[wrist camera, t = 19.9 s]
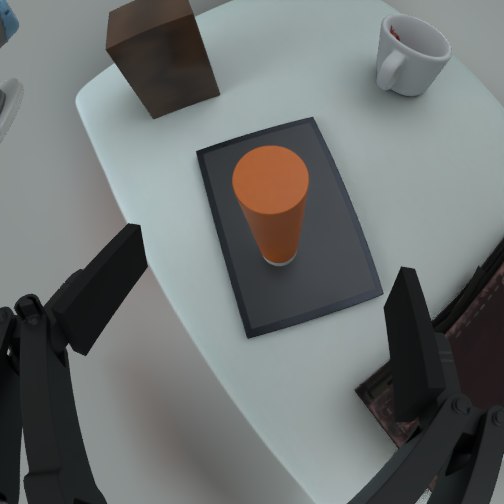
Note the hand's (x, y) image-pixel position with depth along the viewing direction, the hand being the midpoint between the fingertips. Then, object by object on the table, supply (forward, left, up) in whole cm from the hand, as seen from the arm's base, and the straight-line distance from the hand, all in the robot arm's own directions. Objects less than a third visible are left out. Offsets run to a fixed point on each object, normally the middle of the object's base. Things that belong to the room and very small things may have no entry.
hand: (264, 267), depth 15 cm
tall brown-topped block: (-3, +25, -11) cm, 28 cm away
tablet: (+3, +5, -11) cm, 13 cm away
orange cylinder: (+1, +3, -10) cm, 11 cm away
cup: (+21, +17, -12) cm, 29 cm away
